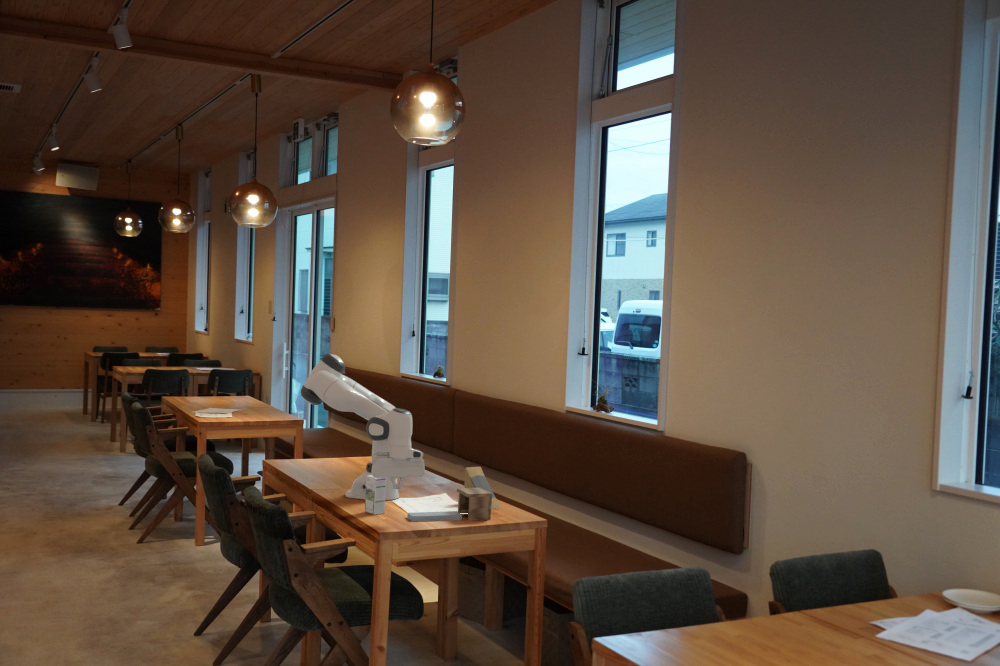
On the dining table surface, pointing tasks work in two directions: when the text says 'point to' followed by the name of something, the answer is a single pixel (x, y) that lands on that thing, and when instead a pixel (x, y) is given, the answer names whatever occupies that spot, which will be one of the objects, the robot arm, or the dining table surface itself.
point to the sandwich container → (479, 482)
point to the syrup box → (375, 495)
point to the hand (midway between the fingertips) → (397, 488)
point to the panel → (434, 516)
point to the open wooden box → (475, 503)
